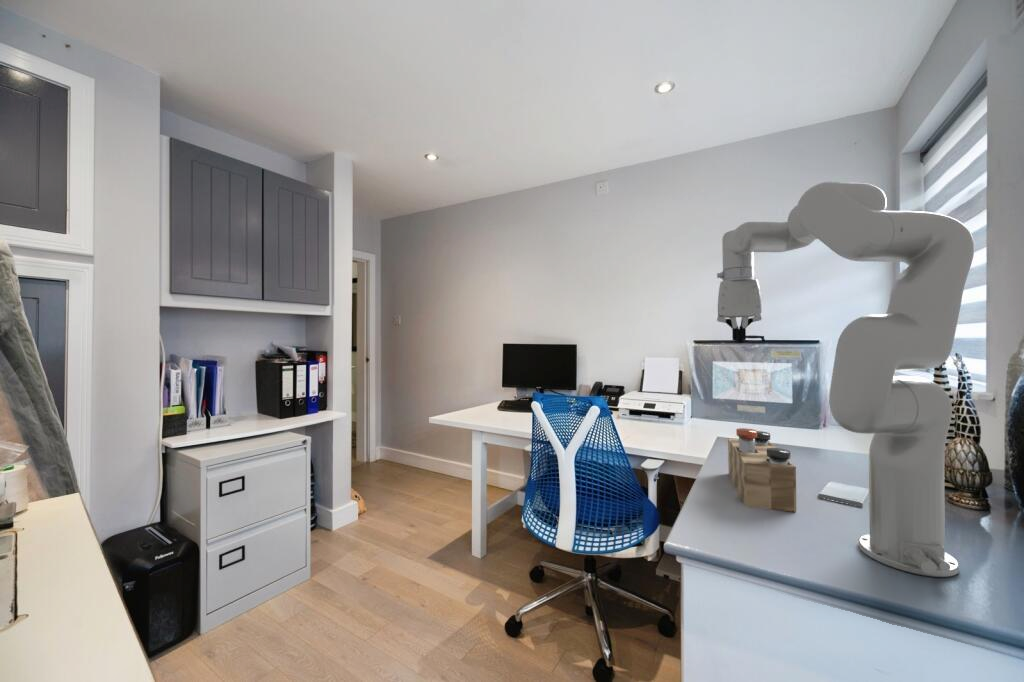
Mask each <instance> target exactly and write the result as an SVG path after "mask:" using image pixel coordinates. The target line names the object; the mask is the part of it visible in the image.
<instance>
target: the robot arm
mask: <svg viewBox="0 0 1024 682" xmlns="http://www.w3.org/2000/svg"><path fill="white" fill-rule="evenodd" d="M887 201H888V200H887V197H886V194H885V192H884V191H883V190H882V189H881V188H880V187H878V186H876V185H874V184H871V183H865V182H851V181H850V182H845V181H843V182H842V181H841V182H840V181H825V182H821V183H817V184H815V185H813V186H812V187H810V188H809V189H807V190H806V191H805V192H803V194H802V195H801V196H800V198H799V200H798V201H797V205H795V206H794V207H793V208H792V209H791V210H790V212H789V214H788V217H787V221H784V222H782V221H780V222H779V221H778V222H777V221H746V222H743V223H742V224H740V225H739V226H737V227H736V228H735V229H732V230H729V231H726V232H725V233H724V234H723V235H722V240H721V241H722V243H721V244H722V246H721V247H722V271H721V272H717V273H716V278H717V279H721V281H720V283H719V287H718V293H717V294H718V296H717V297H718V298H717V319H716V321H717V322H718V323H722V324H726V325H727V326H729V327H730V328H731V330H732V331H731V332H732V334H731V335H732V337H731V338H732V341H734V343H735V344H744V341H746V338H747V336H746V334H747V332H746V330H747V328H748V327H749V326H750V325H751V324H752V323H755V322H759V321H761V320H762V319H763V318H762V315H761V314H762V297H761V289H760V283H759V280H758V279H755V255H754V253H783V252H789V251H794V250H798V249H802V248H805V247H808V246H809V245H811V244H812V243H813V242H814V241H815V240H819V241H820V242H821V243H823V244H824V245H825V246H826V247H827V248H829V249H830V250H831V251H832V252H834V253H835V254H837V255H838V256H840V257H842V258H843V259H846V260H849V261H853V262H862V263H863V262H874V263H875V262H878V263H879V262H888V263H889V262H901V263H904V264H906V266H905V268H903V270H902V271H900V274H899V275H897V277H896V279H895V280H894V283H893V284H892V287H891V291H890V294H889V302H888V305H887V306H888V307H887V309H886V313H884V314H883V313H881V314H869V315H868V314H867V315H863V316H861V317H858V318H856V319H854V320H852V321H851V322H849V323H848V324H847V325H846V326H845V328H844V329H843V330H842V332H841V333H840V336H839V337H838V340H837V344H836V347H835V354H834V355H835V356H834V362H833V368H832V374H831V380H830V381H831V382H830V387H829V394H828V395H829V396H828V404H829V409H830V412H831V416H832V417H833V419H834V420H835V422H836V423H837V424H838V426H839V427H842V428H843V429H845V430H847V431H848V432H852V433H856V434H867V435H869V434H873V436H872V439H871V441H870V446H869V449H868V450H869V452H868V489H869V496H868V502H869V503H868V504H869V505H868V507H869V513H868V514H869V521H868V522H869V534H864V535H862V536H860V537H859V538H858V548H859V549H860V550H861V551H862V552H863V553H864V554H865V555H867V556H868V557H869V558H871V559H873V560H874V561H877V562H879V563H880V564H884V565H886V566H889V567H892V568H894V569H897V570H900V571H904V572H907V573H911V574H915V575H921V576H928V577H935V578H939V577H940V578H945V577H948V578H949V577H953V576H955V575H957V574H959V572H960V567H959V565H960V564H959V562H958V560H956V558H954V557H953V556H952V555H951V554H950V553H947V552H946V529H945V528H946V525H945V524H946V521H945V520H946V512H945V511H946V510H945V501H946V500H945V461H946V459H945V455H946V454H945V453H946V442H947V438H948V432H949V428H950V424H951V420H952V415H953V406H952V405H953V404H952V400H951V398H950V396H949V394H948V393H947V391H946V390H945V389H944V388H943V387H942V386H941V385H939V384H938V383H936V382H934V381H932V380H930V379H927V378H924V377H921V376H914V375H913V376H912V375H895V372H897V371H898V372H902V371H904V372H905V371H922V370H930V369H934V368H937V367H940V366H942V365H943V364H944V363H945V362H946V361H947V360H948V359H949V357H950V355H951V352H952V349H953V345H954V341H955V335H956V330H957V325H958V322H959V321H958V320H959V316H960V311H961V306H962V300H963V295H964V294H963V293H964V290H965V286H966V283H967V279H968V275H969V272H970V270H971V266H972V264H973V259H974V254H975V243H974V242H975V241H974V237H973V234H972V233H971V231H970V230H969V228H967V226H966V225H965V224H963V223H962V222H961V221H959V220H958V219H956V218H953V217H951V216H949V215H945V214H940V213H935V212H929V211H917V210H916V211H913V210H886V209H887V205H888V204H887V203H888V202H887ZM737 318H741V320H740V325H739V326H738V323H737Z"/></svg>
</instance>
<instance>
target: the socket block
mask: <svg viewBox="0 0 1024 682" xmlns="http://www.w3.org/2000/svg"><path fill="white" fill-rule="evenodd" d="M727 446H728V448H727V449H728V452H727V454H728V457H727V459H728V462H727V463H728V475H729V477H730V479H731V481H732V483H733V485H734V487H735V489H736V491H737V493H738V495H739V496H740V499H741V501H742V503H743V505H744V507H745V506H746V508H755V509H766V510H774V511H775V510H776V511H785V512H792V511H793V512H795V513H797V470H796V469H797V467H796V465H795V464H793V462H791V460H790V459H788V465H778V464H770V463H769V457H768V456H767V448H777V447H776V446H775V445H774V444H773V443H772V442H771V441H770V440H768V445H757V444H755V453H750V452H739V438H728V439H727Z"/></svg>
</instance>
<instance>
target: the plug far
mask: <svg viewBox="0 0 1024 682" xmlns="http://www.w3.org/2000/svg"><path fill="white" fill-rule="evenodd" d="M756 431H757V437H756V438H755V444H757V445H768V441H770V440H771V433H770V432H767V431H762V430H761V431H760V430H756Z"/></svg>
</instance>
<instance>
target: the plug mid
mask: <svg viewBox="0 0 1024 682" xmlns="http://www.w3.org/2000/svg"><path fill="white" fill-rule="evenodd" d="M735 430H736V431H735V433H736V437H738V439H739V452H750V453H755V438H756V437H757V431H758V430H757V429H753V428H747V427H746V428H741V427H740V428H736V429H735Z"/></svg>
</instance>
